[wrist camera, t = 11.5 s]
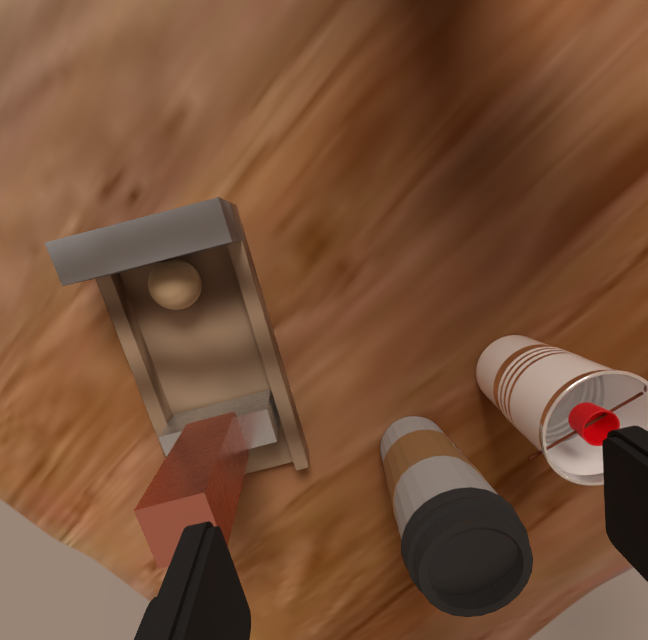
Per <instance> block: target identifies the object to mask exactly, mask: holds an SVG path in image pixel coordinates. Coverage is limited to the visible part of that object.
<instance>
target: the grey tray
mask: <svg viewBox="0 0 648 640" xmlns="http://www.w3.org/2000/svg"><path fill="white" fill-rule="evenodd" d="M45 245H46V247H47V250H48V252H49V254H50V257H51V259H52V262H53V264H54V267H55V269H56V271H57V274H58V276H59V279H60V281H61V284H62V286H65V285H69V284H74V283H78V282H83V281H87V280H92V279H96V281H97V283H98V286H99V289H100V291H101V294H102V296H103V299H104V301H105V304H106V306H107V309H108V312H109V314H110V317H111V319H112V322H113V324H114V327H115V330H116V332H117V335H118V337H119V340H120V342H121V345H122V347H123V350H124V353H125V355H126V358H127V360H128V363H129V365H130V368H131V371H132V373H133V376H134V378H135V381H136V383H137V386H138V389H139V391H140V394H141V396H142V399H143V401H144V404H145V406H146V409H147V412H148V414H149V417H150V419H151V422H152V424H153V427H154V430H155V432H156V435H157V437H158V440H159V436H160V434H161V433H162V432H163V430H164V429H165V427H166V426H167V425H168V423H169V422H170V420H171V419H172V417H173V416H174V415H175V414H179V413H183V412H187V411H190V410H194V409H198V408H202V407H206V406H210V405H214V404H217V403H221V402H225V401H229V400H233V399H237V398H241V397H244V396H248V395H252V394H256V393H260V392H264V391H267V390H271V392H272V395H273V398H274V402H275V405H276V408H277V412H278V415H279V418H280V421H279V430H278V438H277V442H274V443H270V444H266V445H263V446H259V447H255V448H251V449H248V452H249V458H248V462H247V467H246V471H245V474H247V473H251V472H255V471H259V470H263V469H267V468H271V467H274V466H278V465H282V464H286V463H290V462H294V465H295V468H296V471H297V470H301V469H305V468H309V453H308V448H307V444H306V441H305V437H304V434H303V431H302V427H301V424H300V420H299V417H298V414H297V410H296V407H295V403H294V400H293V397H292V393H291V390H290V386H289V383H288V379H287V376H286V373H285V369H284V366H283V362H282V359H281V356H280V352H279V349H278V345H277V342H276V339H275V335H274V332H273V328H272V325H271V322H270V318H269V315H268V311H267V308H266V305H265V301H264V298H263V294H262V291H261V288H260V284H259V281H258V277H257V274H256V270H255V267H254V264H253V260H252V257H251V253H250V250H249V247H248V243H247V240H246V236H245V233H244V230H243V226H242V223H241V219H240V216H239V213H238V209H237V206H236V205H235V204H233V203H230V202H228V201H226V200H223V199H221V198H219V197H218V198H214V199H210V200H206V201H203V202H199V203H195V204H191V205H187V206H183V207H180V208H176V209H172V210H168V211H164V212H160V213H157V214H153V215H149V216H145V217H141V218H137V219H134V220H130V221H126V222H122V223H118V224H114V225H111V226H107V227H103V228H99V229H95V230H91V231H88V232H84V233H80V234H76V235H72V236H68V237H65V238H61V239H57V240H53V241H49V242H46V243H45ZM170 259H178V260H182V261H185V262H187V263H189V264H191V265H192V266H193V267H194V268H195V269H196V270H197V272H198V273H199V275H200V278H201V283H202V288H201V293H200V295H199V297H198V299H197V300H196V301H195V302H194V303H193V304H192V305H190V306H189V307H186V308H184V309H179V310H172V309H167V308H165V307H163V306H161V305H159V304H158V303H157V302H156V301H155V300H154V299H153V298H152V296H151V295H150V292H149V289H148V278H149V275H150V273H151V271H152V270H153V268H154V267H155V266H156V265H158V264H159V263H161V262H163V261H165V260H170ZM159 442H160V440H159ZM160 445H161V442H160ZM161 447H162V445H161ZM162 450H163V447H162ZM163 453H164V450H163ZM164 455H165V453H164ZM165 458H166V455H165Z"/></svg>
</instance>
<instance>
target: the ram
mask: <svg viewBox="0 0 648 640" xmlns="http://www.w3.org/2000/svg"><path fill="white" fill-rule="evenodd" d="M279 421H280V418H279V415H278V412H277V408H276V405H275V402H274V398H273V395H272V392H271V390H267V391H264V392H260V393H256V394H252V395H248V396H244V397H241V398H237V399H233V400H229V401H225V402H221V403H217V404H214V405H210V406H206V407H202V408H198V409H194V410H190V411H187V412H183V413H179V414H175V415H174V416H173V417H172V419H171V420H170V422H169V423H168V425H167V426H166V427H165V429H164V430H163V432H162V433H161V434H160V436H159V440H160V442H161V445H162V447H163V450H164V453H165V455H166V459H165V460H164V462H163V464H162V465H161V467H160V469H159V470H158V472H157V474H156V475H155V477H154V479H153V480H152V482H151V484H150V485H149V487H148V488H147V490H146V492H145V493H144V495H143V497H142V498H141V500H140V502H139V503H138V505H137V507H136V508H135V510H134V512H135V514H136V516H137V519H138V521H139V523H140V526H141V528H142V530H143V533H144V535H145V537H146V540H147V542H148V545H149V547H150V549H151V552H152V554H153V556H154V559H155V561H156V563H157V566H158V568H159V569H160V568H164V567H168V566H169V565H170V562H171V560H172V557H173V555H174V552H175V550H176V547H177V544H178V542H179V539H180V537H181V534H182V532H183V530H184V528H185V527H186V526H189V525H194V524H198V523H203V522H207V521H210V522H211V523H212V524H213V526H214V527H215V526H219V527H220V528H221V530H222V533H223V536H224V538H225V541H226V544H227V546H228V542H229V538H230V534H231V529H232V525H233V521H234V517H235V513H236V508H237V504H238V500H239V496H240V492H241V488H242V483H243V479H244V475H245V471H246V467H247V462H248V458H249V452H248V449H251V448H255V447H259V446H263V445H266V444H270V443H274V442H277V438H278V430H279Z"/></svg>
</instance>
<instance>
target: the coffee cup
mask: <svg viewBox="0 0 648 640" xmlns="http://www.w3.org/2000/svg"><path fill="white" fill-rule="evenodd" d="M380 453H381V457H382V461H383V469H384V474H385V478H386V482H387V487H388V491H389V495H390V500H391V504H392V508H393V513H394V517H395V520H396V523H397V526H398V529H399V533H400V537H401V554H402V557H403V560H404V563H405V566H406V568H407V569H408V571H409V574H410V577H411V579H412V581H413V582H414V584H415V585H416V586H417V588H418V589H419V590H420V591H421V592H422V593H423V594H424V595H425V596H426V598H427V599H428V601H429V602H430V603H431V604H432V605H434V606H435V607H436V608H438V609H439V610H441V611H443V612H446V613H448V614H451V615H455V616H463V617H472V616H482V615H485V614H488V613H491V612H494V611H497V610H498V609H500V608H502V607H504V606H506V605H507V604H509V603H510V602H511V601H512V600H513V599H515V598H516V597H517V596H518V595H519V594H520V593H521V591H522V590H523V588H524V587H525V586H526V584H527V582H528V580H529V577H530V575H531V572H532V564H533V556H532V552H531V547H530V545H529V539H528V535H527V531H526V529H525V527H524V526H523V524H522V522H521V521H520V519H519V517H518V515H517V513H516V512H515V510H514V508H513V507H512V505H511V504H510V503H508V502H507V501H506V500H505V499H504V498H503V497H501V496H500V495H498V494H497V493H496V492H495V490H494V489H493V488H492V487H491V486H490V485H489V484H488V482H487V481H486V479H485V478H484V476H483V475H482V474H481V473H480V472H479V470H478V469H477V468H476V467H475V466H474V465H473V464H472V463H471V461H470V460H469V459H468V458H467V457H466V456H465V455H464V454H463V452H462V451H461V450H460V449H459V448H458V447H457V446H456V445H455V443H454V442H453V441H452V440H451V439H450V438H449V437H448V436H447V435H445V434H444V432H443V431H442V430H441V429H440V428H439V427H438V426H437V425H436V424H435V423H434V422H433V421H431V420H429V419H427V418H423V417H418V416H409V417H404V418H401V419H399V420H397V421H395V422H394V423H392V424H391V425H390V426H389V427H388V429H387V430H386V432H385V434H384V435H383V437H382V440H381V444H380Z"/></svg>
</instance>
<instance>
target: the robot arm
mask: <svg viewBox="0 0 648 640" xmlns="http://www.w3.org/2000/svg"><path fill="white" fill-rule="evenodd" d="M602 451H603V475H604V498H605V521H606V532H607V535H608V537H609V539H610V541H611V543H612V544H613V545H614V547H615V548H616V549H617V550H618V551H619V552H620V553H621V554H622V555H623V556H624V557H625V558H626V559H627V561H628V562H629V563H630V564H631V565H632V566H633V567H634V568H635V569H636V570H637V571H638V572H639V573H640V574H641V575H642V576H643V577H644V578H645V580H646V581H648V431H647V430H645V429H643V428H642V427H639V426H634V425H633V426H629V427H625V428H620V429H616V430H612V431H609V432H608V434H607V438H606V439H604V440H603V442H602ZM250 631H251V614H250V609H249V606H248V603H247V600H246V597H245V595H244V592H243V589H242V586H241V583H240V581H239V578H238V575H237V572H236V569H235V566H234V564H233V561H232V558H231V555H230V552H229V550H228V547H227V544H226V541H225V538H224V536H223V533H222V530H221V528H220V527H219V526H215V527H214V526H213V524H212V523H211V522H210V521H207V522H203V523H198V524H194V525H189V526H186V527H185V528H184V530H183V532H182V534H181V537H180V539H179V542H178V544H177V547H176V550H175V552H174V555H173V557H172V560H171V562H170V565H169V567H168V570H167V573H166V575H165V578H164V580H163V583H162V585H161V588H160V590H159V593H158V596H157V597H155V598H154V599H153V600H152V601H151V602H150V603H149V605H148V607H147V609H146V611H145V614H144V616H143V619H142V621H141V624H140V626H139V628H138V631H137V633H136V636H135V638H134V640H249V638H250Z"/></svg>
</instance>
